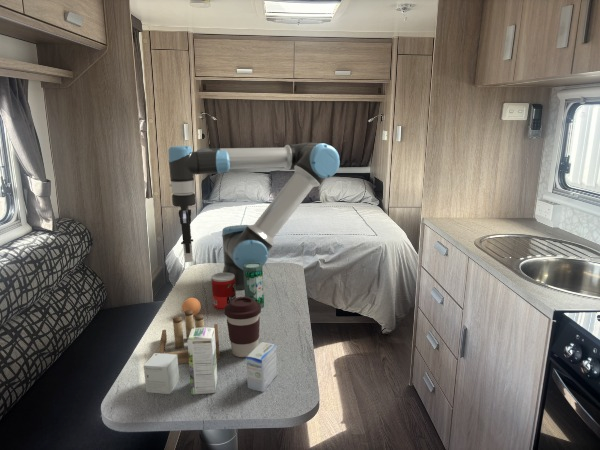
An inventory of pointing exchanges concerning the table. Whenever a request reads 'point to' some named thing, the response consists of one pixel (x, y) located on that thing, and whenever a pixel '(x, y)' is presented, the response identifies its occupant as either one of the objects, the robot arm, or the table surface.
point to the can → (254, 281)
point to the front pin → (189, 322)
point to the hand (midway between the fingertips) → (188, 261)
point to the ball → (191, 305)
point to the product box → (161, 373)
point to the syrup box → (202, 360)
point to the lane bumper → (182, 355)
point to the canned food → (223, 289)
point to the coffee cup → (243, 325)
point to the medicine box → (261, 366)
